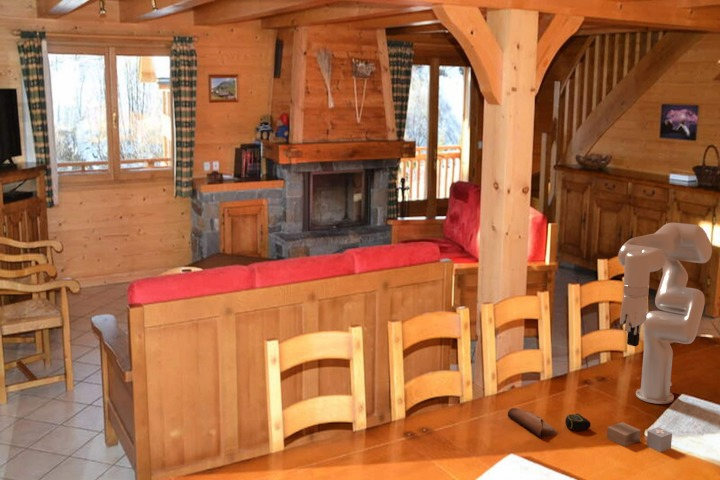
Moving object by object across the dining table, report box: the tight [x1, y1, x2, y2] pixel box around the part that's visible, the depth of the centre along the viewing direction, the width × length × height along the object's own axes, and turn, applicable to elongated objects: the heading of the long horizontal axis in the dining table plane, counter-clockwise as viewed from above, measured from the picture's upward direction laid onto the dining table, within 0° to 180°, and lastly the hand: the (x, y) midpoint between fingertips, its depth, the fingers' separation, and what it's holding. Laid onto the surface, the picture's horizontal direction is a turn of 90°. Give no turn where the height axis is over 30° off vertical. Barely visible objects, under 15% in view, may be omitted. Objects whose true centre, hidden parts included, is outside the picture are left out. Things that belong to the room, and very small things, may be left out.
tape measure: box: [564, 413, 591, 432], centre depth 245 cm, size 7×7×4 cm
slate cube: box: [646, 426, 673, 453], centre depth 232 cm, size 5×5×5 cm
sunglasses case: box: [507, 407, 560, 439], centre depth 247 cm, size 18×7×7 cm
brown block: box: [606, 421, 642, 448], centre depth 237 cm, size 7×7×4 cm
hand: (632, 344), depth 243 cm, fingers closed
